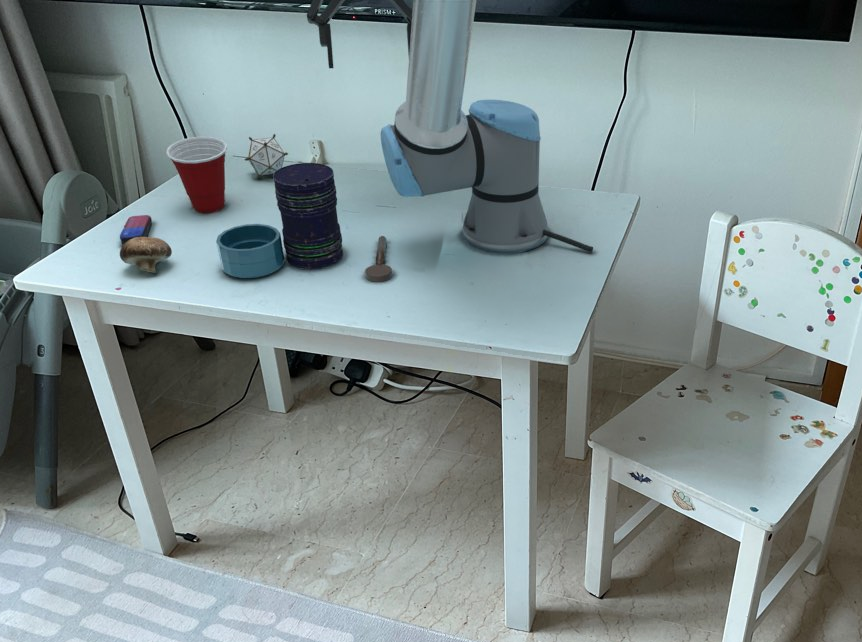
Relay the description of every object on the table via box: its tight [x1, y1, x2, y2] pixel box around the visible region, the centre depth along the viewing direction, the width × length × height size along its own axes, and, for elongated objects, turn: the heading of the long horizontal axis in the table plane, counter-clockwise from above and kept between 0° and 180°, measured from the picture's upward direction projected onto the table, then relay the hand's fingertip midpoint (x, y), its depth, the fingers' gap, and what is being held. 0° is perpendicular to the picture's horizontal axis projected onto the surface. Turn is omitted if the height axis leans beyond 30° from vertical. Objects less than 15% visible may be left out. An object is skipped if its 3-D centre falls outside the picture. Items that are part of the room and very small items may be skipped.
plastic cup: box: [165, 136, 228, 214], centre depth 168 cm, size 11×11×12 cm
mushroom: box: [119, 236, 173, 274], centre depth 149 cm, size 8×8×6 cm
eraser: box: [119, 214, 153, 246], centre depth 161 cm, size 11×4×2 cm, turn 9°
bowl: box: [215, 223, 285, 279], centre depth 150 cm, size 10×10×6 cm
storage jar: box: [272, 162, 344, 271], centre depth 150 cm, size 10×10×15 cm
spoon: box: [364, 235, 393, 283], centre depth 153 cm, size 15×4×1 cm, turn 4°
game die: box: [244, 133, 289, 181], centre depth 182 cm, size 9×8×10 cm
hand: (371, 66), depth 152 cm, fingers open, 13 cm apart
